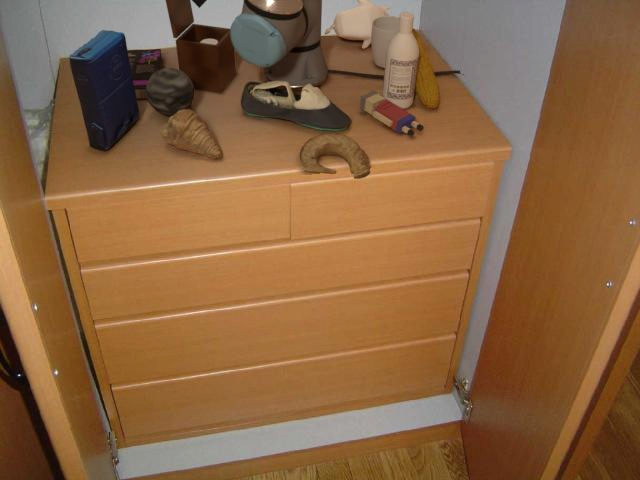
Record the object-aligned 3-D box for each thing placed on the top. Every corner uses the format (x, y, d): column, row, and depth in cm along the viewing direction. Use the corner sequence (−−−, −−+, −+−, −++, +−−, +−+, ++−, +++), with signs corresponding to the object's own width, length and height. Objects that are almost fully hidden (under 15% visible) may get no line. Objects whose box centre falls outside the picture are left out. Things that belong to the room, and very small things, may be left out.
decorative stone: (196, 123, 140) (191, 80, 133) (148, 126, 138) (141, 82, 132) (196, 100, 147) (192, 58, 141) (150, 102, 146) (144, 60, 139)
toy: (424, 135, 140) (373, 103, 147) (428, 118, 137) (376, 86, 144) (405, 145, 137) (354, 112, 144) (409, 128, 134) (356, 96, 141)
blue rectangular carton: (109, 155, 130) (88, 59, 117) (85, 150, 131) (61, 55, 118) (143, 119, 141) (127, 28, 128) (120, 115, 142) (102, 24, 129)
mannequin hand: (386, 46, 177) (400, 43, 166) (320, 54, 174) (331, 52, 163) (381, -3, 174) (395, -9, 163) (315, 5, 171) (324, -1, 160)
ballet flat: (343, 139, 136) (345, 104, 130) (234, 119, 141) (231, 84, 136) (354, 119, 142) (356, 85, 136) (249, 100, 147) (247, 66, 142)
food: (396, 44, 155) (389, 30, 150) (418, 32, 154) (412, 18, 149) (427, 117, 148) (420, 105, 142) (450, 106, 146) (445, 94, 141)
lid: (185, -27, 144) (181, -27, 144) (166, -11, 137) (162, -12, 137) (194, 21, 151) (191, 21, 151) (176, 38, 144) (173, 38, 144)
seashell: (216, 174, 133) (236, 142, 135) (213, 160, 125) (234, 126, 127) (157, 142, 134) (178, 110, 136) (150, 126, 126) (172, 92, 128)
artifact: (313, 124, 133) (384, 141, 129) (314, 136, 136) (383, 153, 132) (289, 161, 127) (363, 180, 122) (291, 173, 129) (363, 193, 125)
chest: (236, 74, 157) (233, 29, 149) (221, 93, 150) (217, 46, 142) (197, 68, 158) (192, 23, 151) (181, 86, 152) (175, 40, 144)
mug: (367, 54, 166) (370, 15, 159) (403, 54, 166) (407, 15, 160) (372, 78, 156) (376, 38, 150) (410, 78, 157) (415, 38, 150)
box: (159, 101, 147) (163, 60, 162) (157, 86, 145) (161, 46, 159) (95, 103, 146) (104, 61, 160) (92, 88, 143) (101, 47, 158)
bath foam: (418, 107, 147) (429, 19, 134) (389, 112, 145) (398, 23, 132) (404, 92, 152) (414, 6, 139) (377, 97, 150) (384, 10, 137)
